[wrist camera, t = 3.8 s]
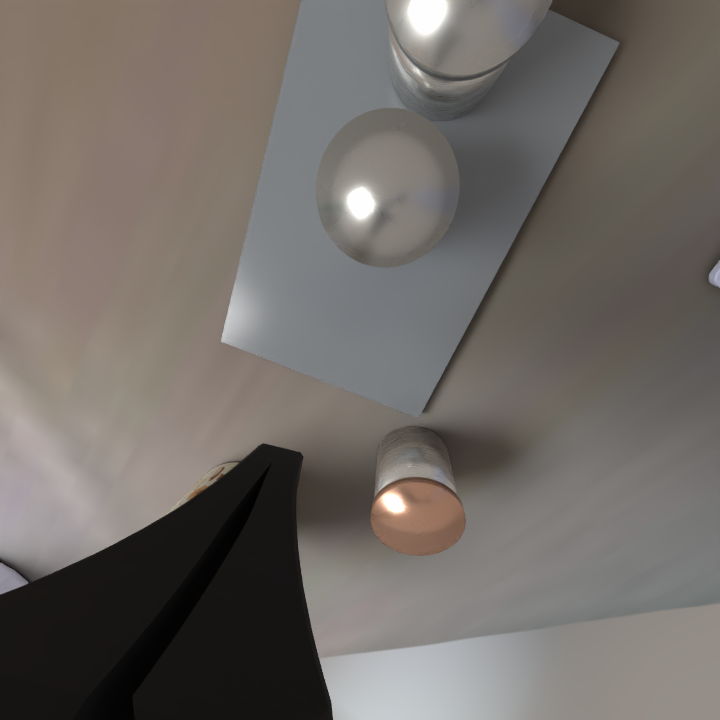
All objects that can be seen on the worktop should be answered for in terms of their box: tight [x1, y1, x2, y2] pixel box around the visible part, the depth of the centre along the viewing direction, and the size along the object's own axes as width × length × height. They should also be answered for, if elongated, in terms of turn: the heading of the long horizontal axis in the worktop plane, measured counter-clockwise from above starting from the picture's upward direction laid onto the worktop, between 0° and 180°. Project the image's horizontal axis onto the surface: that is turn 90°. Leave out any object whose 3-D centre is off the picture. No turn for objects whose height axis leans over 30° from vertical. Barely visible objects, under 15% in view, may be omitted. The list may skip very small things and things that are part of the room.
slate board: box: [221, 0, 620, 418], centre depth 16 cm, size 12×18×1 cm, turn 159°
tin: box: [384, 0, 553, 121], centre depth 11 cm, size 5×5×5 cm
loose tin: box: [371, 426, 466, 556], centre depth 19 cm, size 5×5×5 cm
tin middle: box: [316, 108, 460, 268], centre depth 13 cm, size 5×5×5 cm
